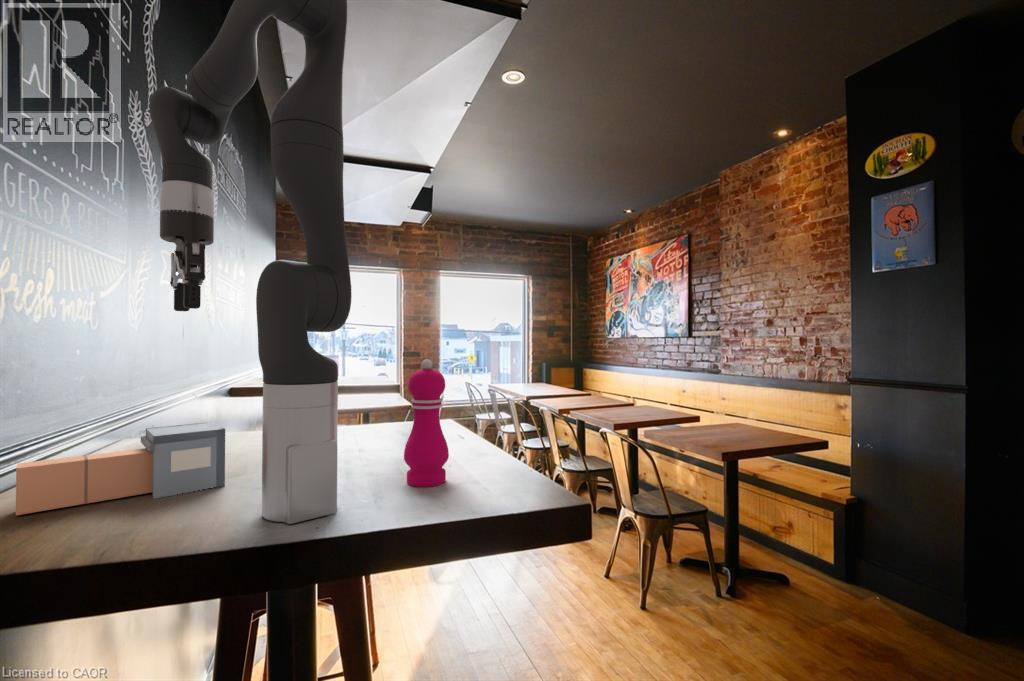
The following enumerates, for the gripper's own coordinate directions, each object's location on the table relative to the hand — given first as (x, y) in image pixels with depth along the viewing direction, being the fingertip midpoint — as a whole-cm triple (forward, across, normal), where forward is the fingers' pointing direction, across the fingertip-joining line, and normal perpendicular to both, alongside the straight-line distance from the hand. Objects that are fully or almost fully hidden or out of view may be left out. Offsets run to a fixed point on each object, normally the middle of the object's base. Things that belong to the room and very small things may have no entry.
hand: (186, 309), depth 80 cm
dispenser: (+28, -6, +1) cm, 29 cm away
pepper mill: (+28, -30, -28) cm, 50 cm away
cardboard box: (+28, -6, +12) cm, 31 cm away
